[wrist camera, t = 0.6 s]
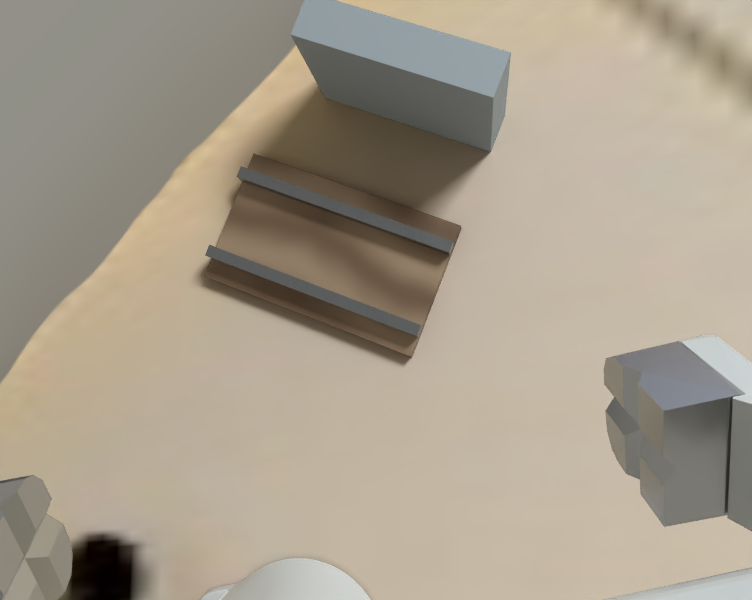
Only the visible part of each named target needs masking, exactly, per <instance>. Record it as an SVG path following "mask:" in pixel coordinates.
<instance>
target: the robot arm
mask: <svg viewBox="0 0 752 600" xmlns="http://www.w3.org/2000/svg"><path fill="white" fill-rule="evenodd" d="M604 385H605V386H606V387H607V388H608V389H609V391H610V392H611V393H612V394H613V396H614V398H613V400H612V401H611V403H610V405H609V406H608V408H607V409H606V423H607V432H608V436H609V440H610V443H611V447H612V450H613V452H614V454H615V456H616V458H617V461H618V462H619V464H620V465H621V467H622V468H623V470H624V471H625V473H626V474H628V475H631V476H633V477H635V478H638V479H640V489H641V495H642V497H643V498H644V499H645V501H646V502H647V504H648V505H649V506H650V508H651V509H652V510H653V512H654V513H655V515H656V516H657V517H658V519H659V520H660V521H661V523H662V524H663V526H664V527H665V526H671V525H676V524H681V523H687V522H692V521H698V520H703V519H708V518H714V517H719V516H725V515H728V518H729V519H730V520H732V521H734V522H736V523H738V524H740V525H741V526H743V527H745V528H747V529H749V530H751V531H752V363H751V362H750V361H748V360H747V359H746V358H744V357H743V356H742V355H741V354H739V353H738V352H737V351H735V350H734V349H733V348H731V347H730V346H729V345H728V344H726V343H725V342H724V341H722V340H721V339H720V338H718V337H717V336H715V335H710V334H705V335H701V336H697V337H693V338H689V339H685V340H681V341H677V342H673V343H669V344H664V345H660V346H656V347H652V348H647V349H643V350H639V351H634V352H630V353H626V354H621V355H617V356H613V357H609V358H606V361H605V366H604ZM51 499H52V498H51V496H50V494H49V492H48V490H47V488H46V486H45V484H44V482H43V480H42V479H40V478H38V477H36V476H34V475H30V476H24V477H19V478H14V479H8V480H3V481H0V600H57V599H58V598H59V597H60V596H61V595H62V594H63V593H64V592H65V590H66V588H67V585H68V582H69V579H70V577H71V569H72V549H71V545H70V540H69V536H68V534H67V532H66V529H65V527H64V525H63V523H61V522H60V521H58V520H56V519H55V518H53V517H52V516H50V515H48V514H47V510H48V508H49V505H50V502H51ZM201 600H370V598H369V597H368V596H367V594H366V593H365V592H364V590H363V589H362V588H361V587H360V586H359V585H358V584H357V583H356V582H355V581H354V580H353V579H352V578H351V577H349V576H348V575H347V574H345V573H344V572H343V571H341V570H339V569H338V568H336V567H334V566H332V565H329V564H327V563H324V562H321V561H317V560H312V559H304V558H292V559H284V560H280V561H276V562H273V563H271V564H268V565H266V566H264V567H262V568H260V569H258V570H257V571H255V572H254V573H252V574H251V575H250V576H248V577H247V578H245V579H244V580H242V581H241V582H239V583H237V584H233V585H227V586H221V587H217V588H214V589H211V590H209V591H208V592H207V593H205V595H204V596H203V597H202V598H201ZM604 600H752V568H747V569H742V570H738V571H733V572H729V573H724V574H719V575H715V576H710V577H706V578H701V579H696V580H692V581H687V582H682V583H678V584H673V585H669V586H664V587H659V588H655V589H650V590H646V591H641V592H636V593H632V594H627V595H623V596H618V597H613V598H609V599H604Z"/></svg>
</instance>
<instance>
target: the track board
mask: <svg viewBox="0 0 752 600" xmlns="http://www.w3.org/2000/svg"><path fill="white" fill-rule="evenodd" d="M237 177H238V178H239V179H240V180H241V181H243V182H242V184H241V187H240V189H239V192H238V194H237V196H236V199H235V201H234V204H233V206H232V209H231V211H230V214H229V216H228V219H227V221H226V224H225V226H224V229H223V231H222V234H221V236H220V239H219V241H218V244H217V246H216V247H214V246H211V245H209V247H208V250H207V252H206V254H205V255H206V256H208V257H210V258H212V259H211V261H210V264H209V266H208V268H207V271H206V273H205V277H208V278H210V279H213V280H215V281H218V282H220V283H223V284H226V285H228V286H231V287H233V288H236V289H238V290H241V291H244V292H246V293H249V294H251V295H254V296H256V297H259V298H262V299H264V300H267V301H269V302H272V303H274V304H277V305H280V306H282V307H285V308H287V309H290V310H292V311H295V312H298V313H300V314H303V315H305V316H308V317H310V318H313V319H316V320H318V321H321V322H323V323H326V324H328V325H331V326H333V327H336V328H339V329H341V330H344V331H346V332H349V333H351V334H354V335H357V336H359V337H362V338H364V339H367V340H369V341H372V342H375V343H377V344H380V345H382V346H385V347H387V348H390V349H393V350H395V351H398V352H400V353H403V354H405V355H408V356H411V357H412V356H413V353H414V351H415V348H416V346H417V343H418V340H419V338H420V335H421V333H422V330H423V327H424V325H425V322H426V319H427V317H428V314H429V312H430V309H431V306H432V304H433V301H434V299H435V296H436V293H437V291H438V288H439V286H440V283H441V280H442V278H443V275H444V273H445V270H446V267H447V265H448V262H449V259H450V257H451V254H452V252H453V249H454V246H455V244H456V241H457V239H458V236H459V233H460V231H461V226H460V225H457V224H454V223H451V222H449V221H446V220H443V219H440V218H437V217H434V216H431V215H428V214H426V213H423V212H420V211H417V210H414V209H411V208H408V207H406V206H403V205H400V204H397V203H394V202H391V201H388V200H385V199H383V198H380V197H377V196H374V195H371V194H368V193H365V192H363V191H360V190H357V189H354V188H351V187H348V186H345V185H342V184H340V183H337V182H334V181H331V180H328V179H325V178H322V177H319V176H317V175H314V174H311V173H308V172H305V171H302V170H299V169H297V168H294V167H291V166H288V165H285V164H282V163H279V162H276V161H274V160H271V159H268V158H265V157H262V156H259V155H256V154H253V157H252V159H251V162H250V164H249V167H248V169H247V168H244V167H241V168H240V170H239V173H238V175H237Z"/></svg>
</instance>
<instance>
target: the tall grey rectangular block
mask: <svg viewBox="0 0 752 600" xmlns="http://www.w3.org/2000/svg"><path fill="white" fill-rule="evenodd" d="M291 36H292V38H293V40H294V42H295V44H296V45H297V47H298V49H299V51H300V53H301V55H302V56H303V58H304V60H305V62H306V64H307V65H308V67H309V69H310V71H311V73H312V75H313V76H314V78H315V80H316V82H317V84H318V86H319V87H320V89H321V91H322V93H323V95H324V97H325V98H326V99H329V100H332V101H336V102H339V103H342V104H345V105H348V106H351V107H354V108H357V109H360V110H363V111H366V112H369V113H372V114H375V115H378V116H382V117H385V118H388V119H391V120H394V121H397V122H400V123H403V124H406V125H409V126H412V127H415V128H418V129H421V130H424V131H428V132H431V133H434V134H437V135H440V136H443V137H446V138H449V139H452V140H455V141H458V142H461V143H464V144H467V145H470V146H474V147H477V148H480V149H483V150H486V151H489V152H491V150H492V147H493V145H494V142H495V140H496V137H497V134H498V132H499V129H500V127H501V124H502V121H503V119H504V116H505V108H506V97H507V87H508V77H509V66H510V56H511V53H510V52H507V51H504V50H500V49H497V48H493V47H490V46H487V45H483V44H480V43H477V42H473V41H470V40H467V39H463V38H460V37H456V36H453V35H450V34H446V33H443V32H440V31H436V30H433V29H430V28H426V27H423V26H420V25H416V24H413V23H409V22H406V21H403V20H399V19H396V18H393V17H389V16H386V15H383V14H379V13H376V12H372V11H369V10H366V9H362V8H359V7H356V6H352V5H349V4H346V3H342V2H339V1H336V0H304V3H303V5H302V8H301V10H300V13H299V15H298V18H297V20H296V23H295V25H294V27H293V30H292V33H291Z"/></svg>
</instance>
